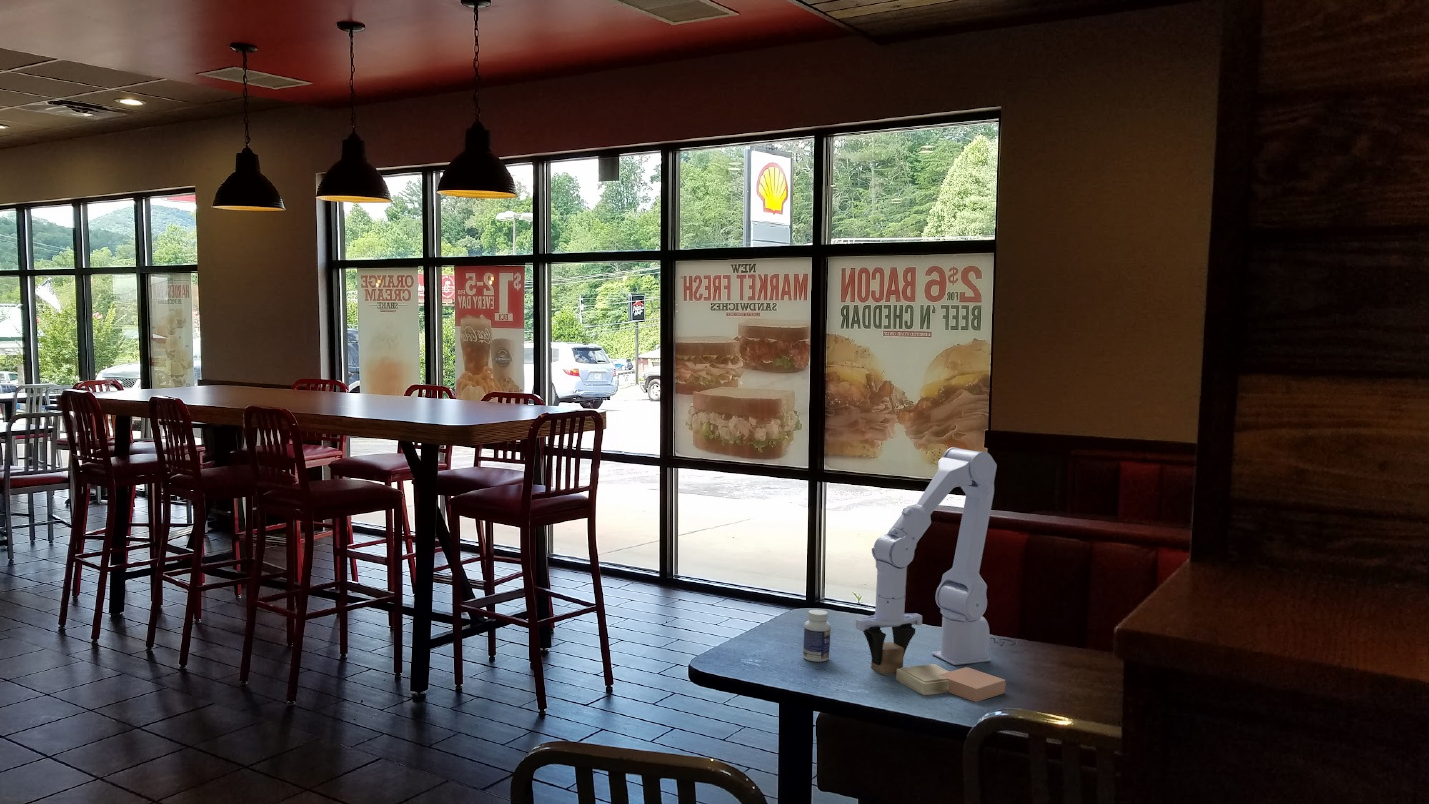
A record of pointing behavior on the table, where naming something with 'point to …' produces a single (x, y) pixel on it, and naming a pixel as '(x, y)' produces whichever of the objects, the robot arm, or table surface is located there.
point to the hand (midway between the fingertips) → (887, 662)
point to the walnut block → (890, 659)
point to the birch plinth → (924, 679)
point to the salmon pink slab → (974, 684)
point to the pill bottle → (817, 636)
